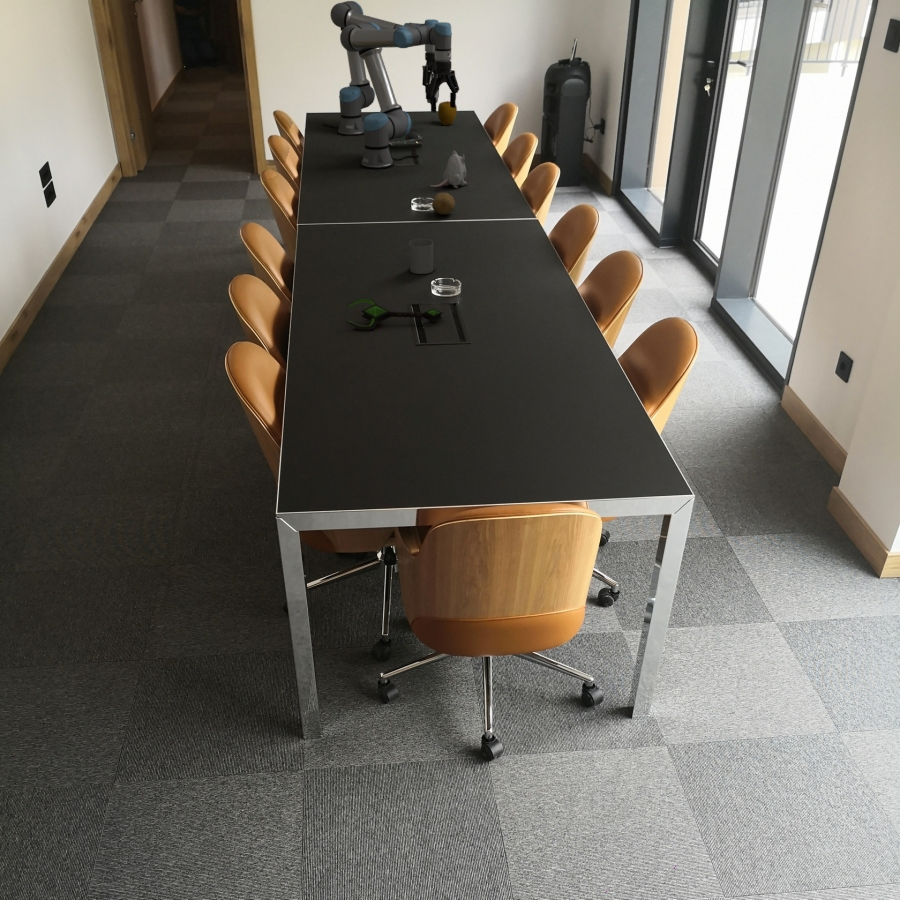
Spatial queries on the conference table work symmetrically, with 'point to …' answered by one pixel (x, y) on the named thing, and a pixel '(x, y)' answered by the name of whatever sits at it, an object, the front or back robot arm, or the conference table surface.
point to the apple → (446, 113)
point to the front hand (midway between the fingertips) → (443, 109)
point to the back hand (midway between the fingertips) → (432, 98)
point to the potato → (443, 203)
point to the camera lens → (435, 96)
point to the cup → (421, 256)
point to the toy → (454, 171)
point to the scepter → (389, 314)
